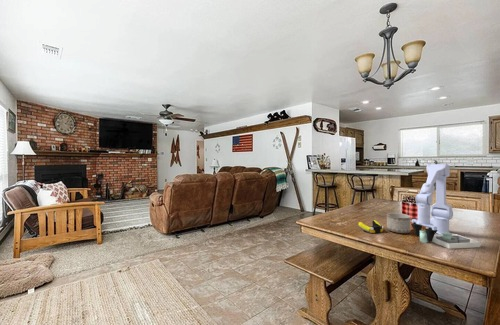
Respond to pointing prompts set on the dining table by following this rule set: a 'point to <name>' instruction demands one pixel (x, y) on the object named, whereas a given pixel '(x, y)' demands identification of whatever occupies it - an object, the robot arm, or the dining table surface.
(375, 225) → the spring clamp
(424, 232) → the jaw peg
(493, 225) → the dining table surface
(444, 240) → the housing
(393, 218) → the planter
